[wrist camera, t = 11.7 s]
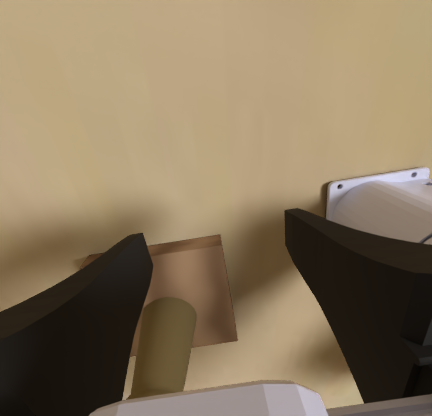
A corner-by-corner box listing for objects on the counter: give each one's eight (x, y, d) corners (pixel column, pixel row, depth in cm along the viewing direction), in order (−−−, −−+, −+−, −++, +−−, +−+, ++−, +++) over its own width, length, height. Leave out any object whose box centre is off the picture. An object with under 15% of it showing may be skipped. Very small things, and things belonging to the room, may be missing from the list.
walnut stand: (220, 234, 23) (221, 245, 21) (235, 326, 29) (237, 340, 27) (89, 255, 23) (79, 267, 21) (130, 341, 29) (125, 357, 27)
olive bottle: (171, 342, 26) (150, 484, 16) (131, 317, 24) (79, 461, 14) (208, 317, 25) (210, 455, 15) (168, 288, 23) (140, 424, 13)
